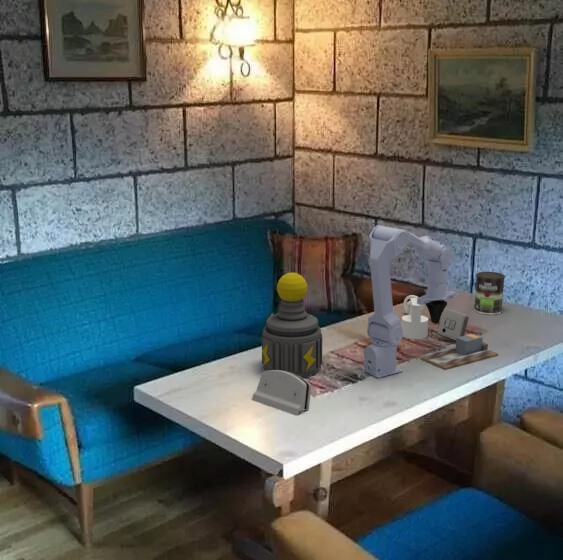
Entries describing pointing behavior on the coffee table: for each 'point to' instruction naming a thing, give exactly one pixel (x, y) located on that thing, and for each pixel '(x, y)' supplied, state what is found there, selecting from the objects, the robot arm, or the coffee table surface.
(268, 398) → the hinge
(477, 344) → the block
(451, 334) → the electrical switch
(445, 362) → the din rail board
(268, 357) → the grey tesla coil
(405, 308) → the ring around a ball
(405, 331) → the cylinder with rectangular tab
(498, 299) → the coffee can
